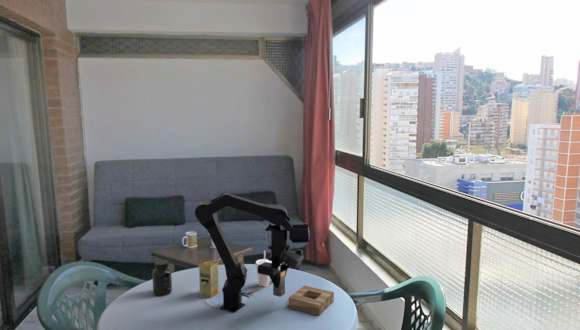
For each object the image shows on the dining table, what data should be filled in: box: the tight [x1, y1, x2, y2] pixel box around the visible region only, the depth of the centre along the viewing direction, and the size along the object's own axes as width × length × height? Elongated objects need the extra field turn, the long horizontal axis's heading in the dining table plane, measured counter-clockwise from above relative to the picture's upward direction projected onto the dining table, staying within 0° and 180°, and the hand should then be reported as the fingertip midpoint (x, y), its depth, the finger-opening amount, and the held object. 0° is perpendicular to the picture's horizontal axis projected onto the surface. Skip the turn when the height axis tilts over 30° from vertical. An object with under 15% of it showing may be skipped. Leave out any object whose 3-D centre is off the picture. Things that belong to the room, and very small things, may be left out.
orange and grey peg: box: [272, 269, 286, 298], centre depth 144 cm, size 3×3×8 cm
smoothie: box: [255, 250, 272, 288], centre depth 162 cm, size 6×6×14 cm
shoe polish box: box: [198, 260, 219, 299], centre depth 154 cm, size 5×5×12 cm
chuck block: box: [288, 285, 335, 316], centre depth 147 cm, size 12×12×4 cm
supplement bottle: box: [152, 259, 173, 297], centre depth 155 cm, size 7×7×12 cm
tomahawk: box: [242, 280, 273, 299], centre depth 161 cm, size 21×7×1 cm, turn 140°
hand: (279, 285), depth 144 cm, fingers closed on orange and grey peg, 3 cm apart
